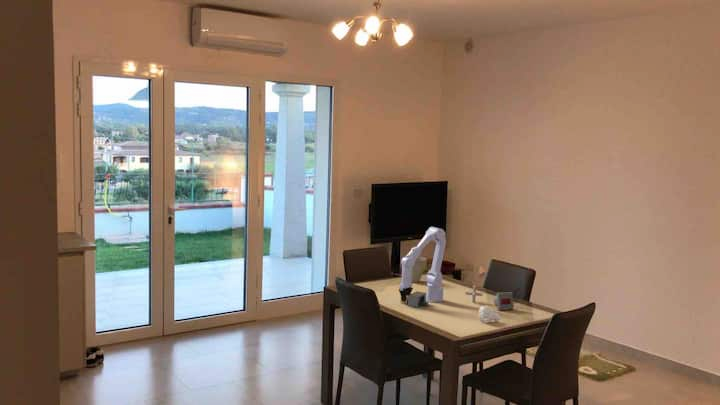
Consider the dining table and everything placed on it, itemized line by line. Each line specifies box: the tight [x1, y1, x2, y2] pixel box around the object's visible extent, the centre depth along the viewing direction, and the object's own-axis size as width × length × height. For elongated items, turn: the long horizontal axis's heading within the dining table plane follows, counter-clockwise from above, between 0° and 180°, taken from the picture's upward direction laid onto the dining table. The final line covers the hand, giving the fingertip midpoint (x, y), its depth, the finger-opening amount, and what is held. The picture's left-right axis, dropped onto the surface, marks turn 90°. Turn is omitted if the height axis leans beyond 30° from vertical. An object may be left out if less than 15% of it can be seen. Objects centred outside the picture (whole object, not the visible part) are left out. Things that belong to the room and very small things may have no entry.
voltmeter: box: [493, 288, 520, 311], centre depth 359 cm, size 27×11×10 cm, turn 147°
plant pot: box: [411, 256, 427, 284], centre depth 413 cm, size 15×15×16 cm
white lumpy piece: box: [478, 305, 501, 325], centre depth 324 cm, size 6×8×12 cm
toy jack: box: [465, 285, 484, 303], centre depth 366 cm, size 10×10×10 cm
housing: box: [407, 290, 427, 309], centre depth 352 cm, size 6×12×6 cm, turn 152°
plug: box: [399, 296, 429, 308], centre depth 353 cm, size 16×4×4 cm, turn 64°
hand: (405, 300), depth 356 cm, fingers closed on plug, 4 cm apart
